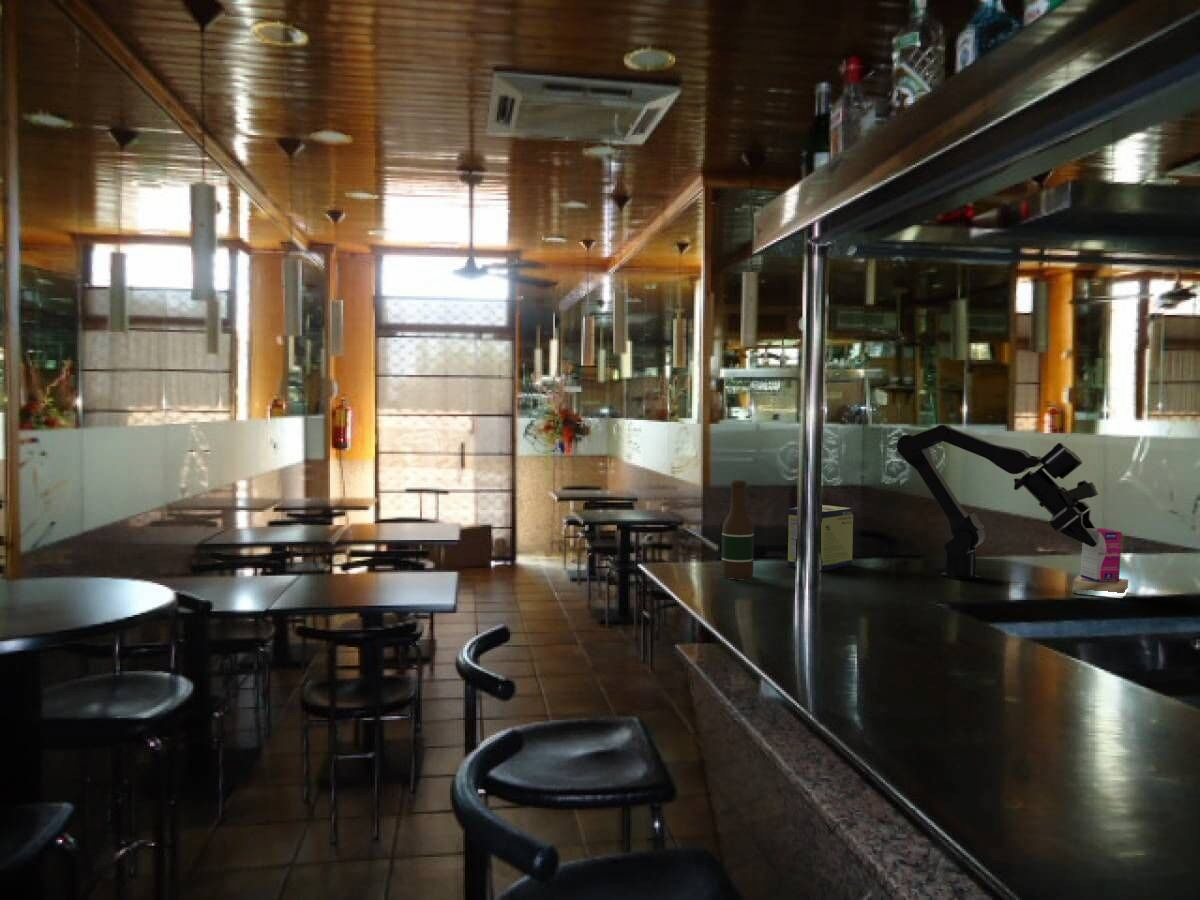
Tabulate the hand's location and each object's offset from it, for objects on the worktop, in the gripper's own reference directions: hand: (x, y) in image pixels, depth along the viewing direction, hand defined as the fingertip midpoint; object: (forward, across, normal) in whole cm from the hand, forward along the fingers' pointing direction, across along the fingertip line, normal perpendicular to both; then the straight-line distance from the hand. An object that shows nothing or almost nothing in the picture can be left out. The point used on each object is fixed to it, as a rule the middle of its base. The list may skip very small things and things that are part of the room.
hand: (1097, 543), depth 206 cm
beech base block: (+9, 0, +7) cm, 11 cm away
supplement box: (+6, 0, +5) cm, 8 cm away
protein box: (-37, -6, +54) cm, 65 cm away
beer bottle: (-43, -35, +61) cm, 82 cm away
